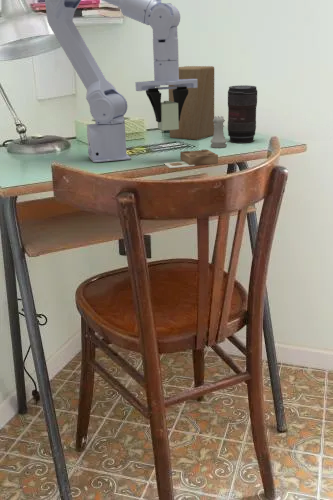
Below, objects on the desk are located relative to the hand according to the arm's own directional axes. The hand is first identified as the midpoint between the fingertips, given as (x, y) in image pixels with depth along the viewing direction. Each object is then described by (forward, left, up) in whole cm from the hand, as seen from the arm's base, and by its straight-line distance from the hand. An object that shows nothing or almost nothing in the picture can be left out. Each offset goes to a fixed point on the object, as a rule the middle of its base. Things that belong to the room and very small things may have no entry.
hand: (167, 120), depth 128 cm
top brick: (0, 0, -2) cm, 2 cm away
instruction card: (+1, -6, -9) cm, 11 cm away
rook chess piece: (+18, +11, -10) cm, 23 cm away
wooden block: (+17, +30, -10) cm, 36 cm away
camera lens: (+27, +16, -10) cm, 33 cm away
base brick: (+6, -5, -9) cm, 12 cm away
